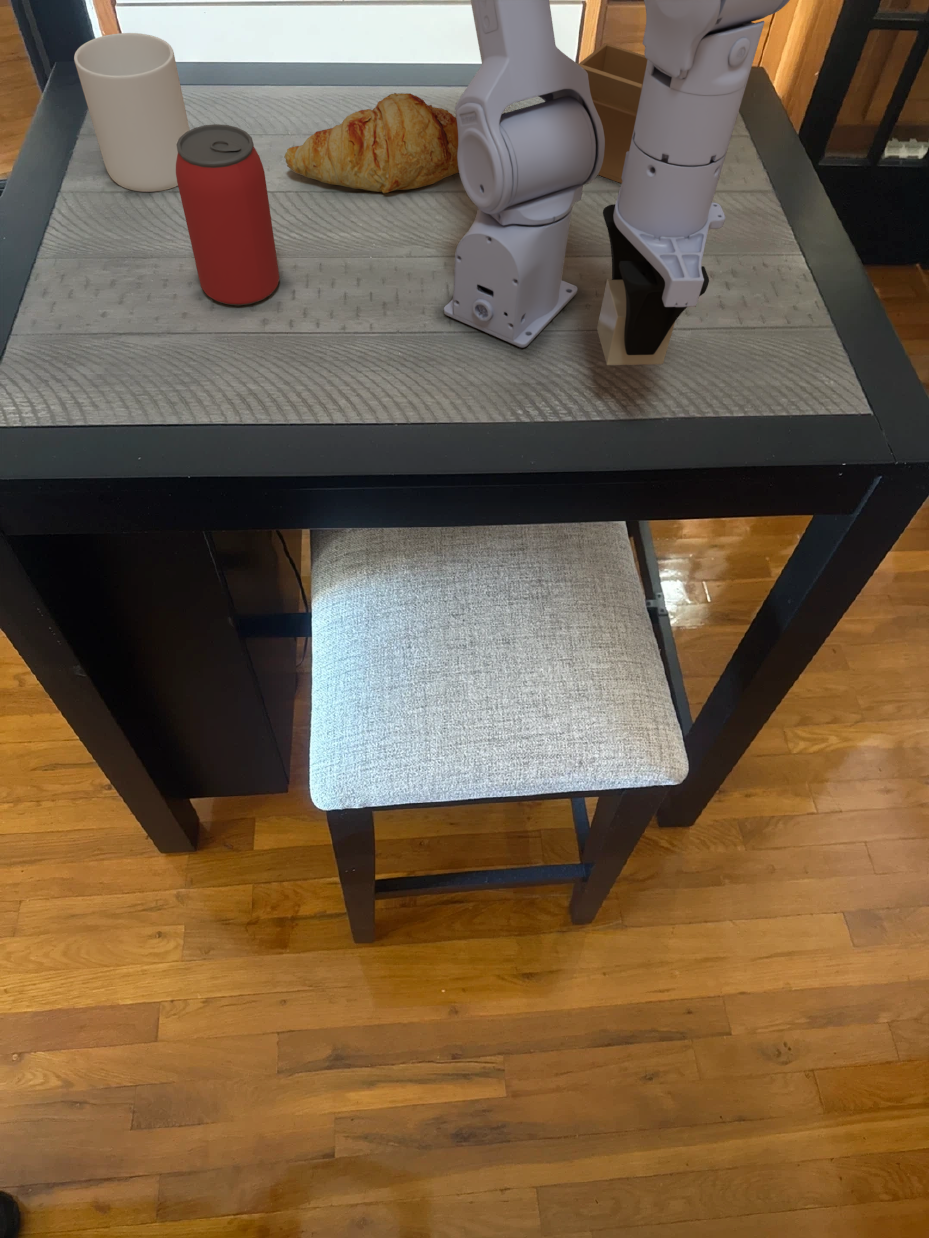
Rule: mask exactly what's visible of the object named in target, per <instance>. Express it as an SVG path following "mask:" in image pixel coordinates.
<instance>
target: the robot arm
mask: <svg viewBox="0 0 929 1238" xmlns="http://www.w3.org/2000/svg"><path fill="white" fill-rule="evenodd" d="M790 1H791V0H643V4H644V7H645V28H644V33H643V38H642V45H643V46H644V51H643V52H644V54H643V55H644V56H645V57H646V59H647V66H646V71H645V76H644V81H643V86H642V91H641V96H640V101H639V106H638V111H637V116H636V121H635V126H634V131H633V135H632V140H631V145H630V150H629V151H627V152H626V157H625V162H624V167H623V172H622V177H621V178H622V183H621V184H620V188H619V191H618V194H617V198H616V201H615V203H614V204H609V205H607V206H605V207H604V208H603V210H602V215H603V219H604V223H605V226H606V229H607V233H608V238H609V244H610V245H609V246H610V255H611V280H623V282H624V286H625V293H626V320H625V331H624V343H625V350H626V353H627V355H653V354H655V352H656V351H657V349H658V348H659V346H660V345H661V343H662V341H663V340H664V338H665V336H666V335H667V333H668V331H669V330H670V328H671V327H672V325H673V324H674V322H675V323H676V321H677V319H678V318H679V317H680V316H681V315H682V313H684V311H685V310H686V309H687V308H692V307H693V308H694V307H697V305H698V301H699V298H700V297H701V296H702V295H704V294H705V293H706V291H707V289H708V287H709V284H710V278H709V275H708V272H707V270H706V267H705V265H703V257H704V252H705V248H706V244H707V238H708V233H709V231H710V230H720V229H722V228H723V227H724V224H725V221H726V213H725V212H724V210H723V208H722V206H721V205H720V203H718V202H714V201H713V200H714V198H715V194H716V191H717V187H718V184H719V180H720V177H721V173H722V170H723V167H724V163H725V159H726V156H727V152H728V150H729V146H730V144H731V143H730V142H731V139H732V136H733V132H734V130H735V125H736V122H737V118H738V116H739V111H740V108H741V105H742V102H743V97H744V95H745V91H746V88H747V85H748V81H749V77H750V74H751V71H752V67H753V64H754V60H755V57H756V53H757V50H758V46H759V42H760V40H761V37H762V32H763V29H764V26H765V23H766V22H765V20H762V19H765V18H767V17H769V16H771V15H774V14H776V13H778V12H779V11H781V10H782V9H784V7H786V5H787V4H788V3H790ZM470 6H471V11H472V16H473V21H474V28H475V32H476V38H477V43H478V49H479V55H480V61H481V65H480V67H479V68H478V70H477V71H476V73H475V74H474V76H473V77H472V79H471V80H470V82H469V83H468V85H467V86H466V88H465V89H464V90H463V92H462V94H461V95H460V97H459V98H458V100H457V102H456V104H455V106H454V110H455V111H454V113H455V117H456V119H457V127H458V152H457V160H458V169H459V178H460V181H461V184H462V187H463V189H464V191H465V193H466V196H467V197H468V198H469V200H470V201H471V202H472V203H473V204H474V205H475V206H476V207H477V211H476V215H475V217H474V220H473V222H472V224H471V225H470V228H469V229H468V230H467V232H466V233H465V234H464V235H463V236H462V237H461V239H460V240H459V242H458V243H457V246H456V249H455V254H454V270H453V271H454V272H453V295H452V296H453V297H452V299H451V300H450V301H449V302H448V303H447V304H446V305H445V306H444V307H443V314H444V315H445V316H447V317H450V318H451V319H454V320H456V321H459V322H461V323H463V324H466V325H468V326H469V327H472V328H475V329H477V330H479V331H481V332H484V333H486V334H489V335H490V336H492V337H496V338H498V339H499V340H502V341H504V342H506V343H509V344H511V345H514V346H515V347H519V348H526V347H528V346H529V345H530V343H532V342H533V340H534V339H535V338H537V336H538V335H539V334H540V333H541V332H542V331H543V330H544V329H545V328H546V327H547V326H548V324H550V322H551V321H552V320H553V319H554V318H555V317H556V316H557V315H558V314H559V313H560V312H561V311H562V310H563V308H565V306H566V305H567V304H568V303H569V302H570V301H571V300H572V299H573V298H574V297H575V296H576V295H577V293H578V291H579V290H578V289H579V288H578V287H577V286H576V285H574V284H572V283H570V282H567V281H565V280H562V278H563V270H564V264H565V258H566V252H567V245H568V238H569V233H570V226H571V218H572V211H573V205H574V204H576V203H577V202H580V201H581V200H582V195H583V189H584V186H586V185H588V184H590V183H592V182H593V181H594V180H595V179H596V178H597V176H599V175H598V173H599V171H600V169H601V166H602V163H603V158H604V149H605V138H604V130H603V126H602V123H601V120H600V117H599V115H598V113H597V111H596V108H595V106H594V103H593V101H592V97H591V93H590V87H589V80H588V73H587V72H586V71H585V70H584V69H583V68H582V67H581V66H580V65H578V64H579V63H578V62H576V61H574V60H573V59H572V58H570V57H569V56H568V55H567V54H565V53H564V52H563V51H561V50H560V49H559V47H558V46H557V45H556V38H555V32H554V23H553V16H552V11H551V9H552V8H551V3H550V0H470ZM757 21H758V22H757ZM577 63H578V64H577ZM537 97H538V98H540V99H541V100H542V102H540V103H539V102H538V103H535V104H532V105H529V106H525V107H522V108H521V107H520V108H518V109H514V110H511V111H506V112H504V111H505V110H506V109H507V108H508V107H509V106H511V105H513V104H515V103H519V102H523V101H525V100H526V101H527V100H529V99H533V98H537ZM674 325H675V324H674Z"/></svg>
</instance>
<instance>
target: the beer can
mask: <svg viewBox="0 0 929 1238" xmlns="http://www.w3.org/2000/svg"><path fill="white" fill-rule="evenodd" d="M176 145H177V151H178V154H177V160H176V178H177V183H178V186H177V187H178V192H179V196H180V199H181V204H182V209H183V214H184V219H185V223H186V227H187V230H188V235H189V240H190V244H191V249H192V253H193V258H194V261H195V266H196V271H197V275H198V280H199V284H200V288H201V289H202V290H203V292H204V293H205V294H206V295H207V296H208V297H209V298H211V299H212V300H214V301H216V302H218V303H221V304H225V305H228V306H246V305H247V306H248V305H253V304H255V303H259V302H261V301H263V300H264V299H266V298H268V297H269V296H270V295H272V294H273V292H274V291H275V290H276V289H277V287H278V284H279V281H280V271H279V264H278V258H277V251H276V244H275V236H274V229H273V223H272V216H271V207H270V202H269V201H270V200H269V193H268V187H267V181H266V173H265V168H264V166H263V162H262V159H261V157H260V155H259V153H258V151H257V149H256V148H255V144H254V140H253V137H252V136H251V135H250V134H249V133H248V131H246V130H244V129H242V128H239V127H237V126H233V125H229V124H220V123H215V124H204V125H200V126H196V127H194V128H192V129H190V130H189V131H187V132H186V133H184V134H183V135H182V136H181V137H180V138H179V140H178V142H177V144H176Z"/></svg>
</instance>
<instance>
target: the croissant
mask: <svg viewBox="0 0 929 1238" xmlns="http://www.w3.org/2000/svg"><path fill="white" fill-rule="evenodd" d="M457 152H458V127H457V119H456V116H455V115H453V114H452V112H450V111H448V110H447V109H445V108H441V107H434V106H433V105H432V104H427V103H426V102H425V100H424V99H422V98H420V97H419V96H417V95H414V94H413V93H411V92H410V93H409V92H407V93H403V92H402V93H397V92H394V93H390V94H389V95H387V96H386V97H384V98H382V99H381V100H379V101H377V104H376V106H375V107H374V108H372V109H371V108H368V109H360V110H358V111H355V112H353V113H351V114H349V115H346V117H345V118H344V119H343V120H342V123H340V124H336V125H335V126H333V127H330V128H326V129H322V130H316V131H315V132H314V134H312V135H309V137H308V138H307V139H306V140H305V141H304V142H303V144H302V145H295V146H291V147H289V148H287V149H286V152H285V153H284V159H285V163H286V164H287V165H286V166H287V167H288V168H289V169H290V170H291V171H293V172H294V173H296V174H298V175H302V176H303V177H305V178H308V179H312V180H316V181H318V182H321V183H324V184H329V185H333V186H341V187H344V188H349V189H354V190H358V189H359V190H364V191H371V192H377V193H383V194H387V193H390V192H393V191H396V190H399V191H400V190H403V191H406V190H414V189H419V188H422V187H425V186H426V187H427V186H430V185H431V186H432V185H433V184H435V183H437V182H440V181H442V180H443V179H445V178H447V177H451V176H453V175H456V174H458V173H459V169H458V160H457Z"/></svg>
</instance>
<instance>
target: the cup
mask: <svg viewBox="0 0 929 1238" xmlns="http://www.w3.org/2000/svg"><path fill="white" fill-rule="evenodd" d="M73 60H74V61H73V62H74V65H75V67H76V71H77V75H78V78H79V81H80V85H81V89H82V91H83V95H84V99H85V103H86V105H87V108H88V112H89V116H90V119H91V123H92V126H93V129H94V133H95V136H96V140H97V143H98V147H99V150H100V153H101V158H102V161H103V163H104V167H105V169H106V172H107V174H108V175H109V177H110V178H111V180H112V181H114V182H115V183H116V184H117V185H119V186H120V187H122V188H124V189H126V190H130V191H135V192H143V193H152V192H154V193H155V192H162V191H167V190H171V189H174V188H176V187H178V183H177V178H176V160H177V154H178V151H177V145H176V144H177V142H178V140H179V138H180V137H181V136H182V135H183V134H184V133H186V132H187V131H189V130H191V129H190V126H189V120H188V115H187V109H186V106H185V101H184V96H183V90H182V86H181V82H180V75H179V72H178V71H179V70H178V66H177V61H176V56H175V52H174V49H173V47H172V46H171V45H170V43H169V42H167V41H166V40H164V39H162V38H160V37H158V36H156V35H155V36H154V35H151V34H146V33H138V32H120V33H112V34H106V35H102V36H99V37H96V38H93V39H91V40H88V41H87V42H85V43H83V44H81V45H80V46H79V47H78V48H77V50H75V52H74V56H73Z"/></svg>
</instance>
